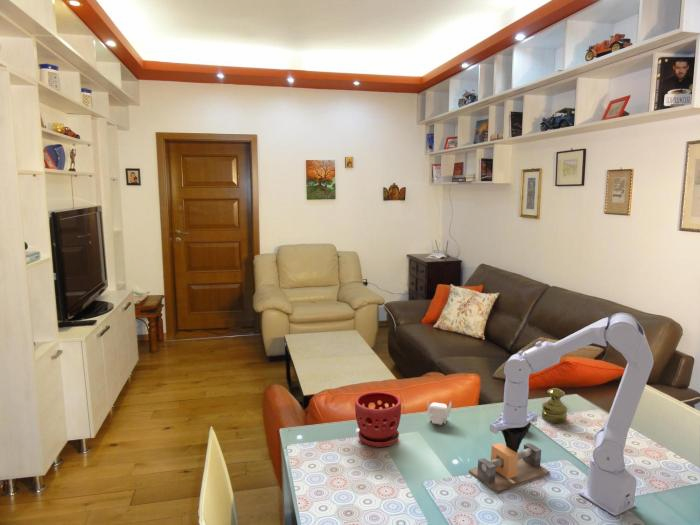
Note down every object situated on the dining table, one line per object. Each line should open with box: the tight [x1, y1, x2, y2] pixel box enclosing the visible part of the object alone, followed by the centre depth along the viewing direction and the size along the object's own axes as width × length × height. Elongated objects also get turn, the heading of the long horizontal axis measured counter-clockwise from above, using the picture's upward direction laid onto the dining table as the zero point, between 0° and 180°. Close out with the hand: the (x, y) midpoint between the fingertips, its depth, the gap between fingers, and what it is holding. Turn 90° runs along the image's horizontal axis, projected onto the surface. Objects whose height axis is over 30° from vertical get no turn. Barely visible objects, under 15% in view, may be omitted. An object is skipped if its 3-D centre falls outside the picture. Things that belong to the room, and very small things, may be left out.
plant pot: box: [354, 391, 402, 448], centre depth 143 cm, size 13×13×12 cm
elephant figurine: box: [426, 397, 453, 425], centre depth 154 cm, size 8×10×7 cm
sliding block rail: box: [468, 442, 551, 494], centre depth 128 cm, size 10×18×5 cm, turn 119°
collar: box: [490, 442, 518, 479], centre depth 127 cm, size 6×3×6 cm, turn 29°
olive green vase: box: [541, 387, 569, 425], centre depth 157 cm, size 7×8×10 cm
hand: (511, 452), depth 128 cm, fingers closed
